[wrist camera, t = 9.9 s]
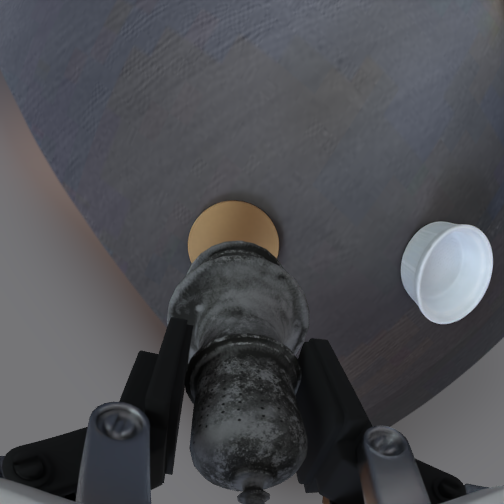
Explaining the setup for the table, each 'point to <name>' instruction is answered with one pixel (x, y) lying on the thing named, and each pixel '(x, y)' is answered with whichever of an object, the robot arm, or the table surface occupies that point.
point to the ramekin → (447, 270)
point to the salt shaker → (243, 367)
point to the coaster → (232, 227)
